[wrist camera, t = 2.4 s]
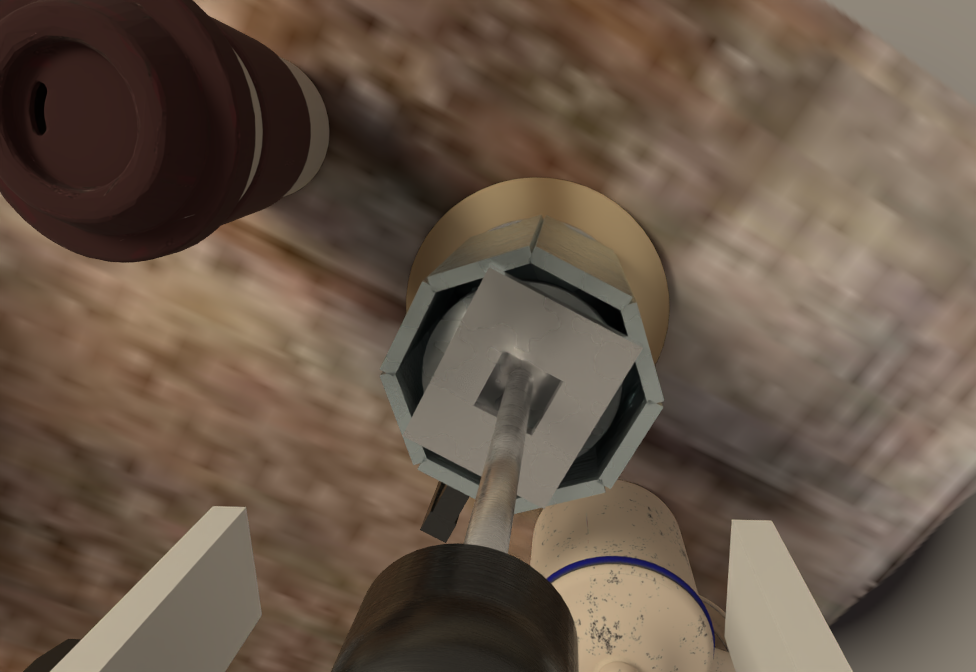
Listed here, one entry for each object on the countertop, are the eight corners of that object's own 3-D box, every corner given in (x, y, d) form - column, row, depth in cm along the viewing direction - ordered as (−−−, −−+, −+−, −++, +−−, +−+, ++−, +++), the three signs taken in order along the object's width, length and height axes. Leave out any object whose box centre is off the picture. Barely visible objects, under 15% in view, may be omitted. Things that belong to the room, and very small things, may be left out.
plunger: (395, 408, 28) (82, 884, 10) (478, 242, 25) (268, 469, 8) (561, 494, 28) (546, 1113, 10) (658, 336, 26) (859, 772, 8)
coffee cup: (396, 128, 35) (277, 117, 21) (275, 259, 38) (97, 329, 24) (254, -19, 34) (26, -137, 20) (141, 126, 37) (-133, 115, 22)
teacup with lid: (506, 574, 42) (483, 731, 31) (563, 448, 39) (561, 570, 28) (690, 647, 42) (734, 832, 30) (760, 526, 39) (836, 680, 28)
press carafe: (390, 391, 39) (311, 500, 27) (493, 183, 35) (454, 203, 23) (547, 472, 39) (537, 616, 27) (666, 274, 35) (716, 340, 23)
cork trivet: (417, 428, 40) (414, 432, 39) (399, 181, 36) (397, 182, 35) (663, 431, 38) (665, 435, 37) (672, 172, 34) (674, 172, 34)
